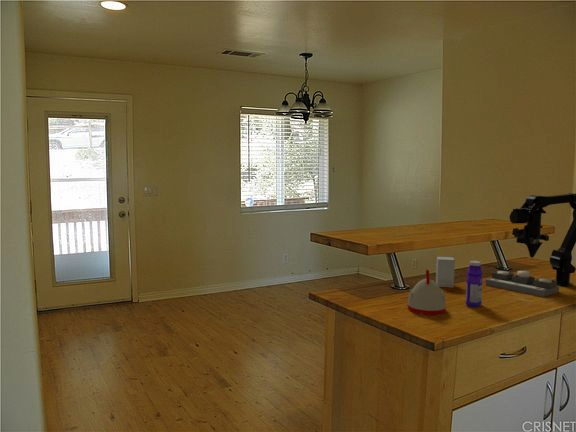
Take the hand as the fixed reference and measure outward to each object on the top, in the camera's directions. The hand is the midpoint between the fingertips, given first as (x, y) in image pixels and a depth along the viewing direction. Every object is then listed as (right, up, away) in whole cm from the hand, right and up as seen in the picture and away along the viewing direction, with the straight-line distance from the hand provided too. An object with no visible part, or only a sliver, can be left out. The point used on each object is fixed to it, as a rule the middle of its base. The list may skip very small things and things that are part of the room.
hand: (531, 257), depth 222 cm
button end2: (0, -11, -11) cm, 15 cm away
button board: (-7, -13, -4) cm, 16 cm away
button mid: (-5, -9, -3) cm, 11 cm away
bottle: (-38, -16, -31) cm, 52 cm away
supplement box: (-39, -13, +1) cm, 41 cm away
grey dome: (-58, -17, -36) cm, 71 cm away
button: (-11, -10, +4) cm, 15 cm away
